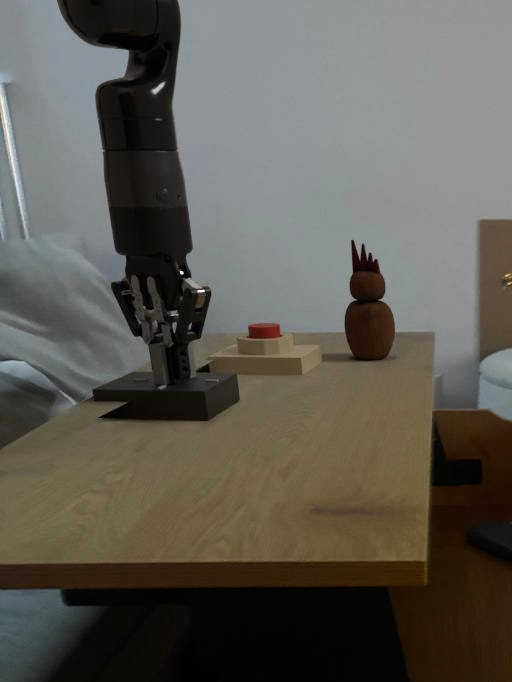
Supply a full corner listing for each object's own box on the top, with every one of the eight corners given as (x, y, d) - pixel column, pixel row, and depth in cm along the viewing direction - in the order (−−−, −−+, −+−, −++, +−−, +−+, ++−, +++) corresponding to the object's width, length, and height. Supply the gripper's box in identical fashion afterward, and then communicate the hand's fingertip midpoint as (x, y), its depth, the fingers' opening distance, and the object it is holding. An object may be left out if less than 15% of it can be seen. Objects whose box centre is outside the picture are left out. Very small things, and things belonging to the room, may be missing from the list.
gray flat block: (165, 385, 102) (159, 343, 100) (154, 384, 103) (148, 342, 101) (196, 376, 106) (191, 336, 105) (186, 375, 107) (181, 335, 105)
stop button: (245, 341, 125) (243, 327, 124) (254, 336, 129) (253, 322, 128) (275, 341, 125) (274, 327, 124) (284, 337, 128) (283, 323, 127)
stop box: (209, 374, 124) (205, 341, 123) (236, 360, 133) (232, 330, 132) (302, 375, 123) (299, 342, 121) (322, 361, 132) (320, 330, 130)
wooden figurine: (338, 358, 134) (330, 239, 128) (370, 352, 138) (364, 237, 132) (371, 364, 130) (365, 242, 124) (403, 358, 134) (399, 239, 128)
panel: (96, 418, 102) (91, 387, 101) (137, 398, 111) (132, 370, 110) (208, 420, 101) (204, 389, 100) (240, 400, 110) (237, 371, 109)
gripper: (224, 202, 96) (244, 382, 103) (135, 200, 103) (159, 369, 111) (161, 204, 90) (187, 395, 98) (72, 202, 98) (102, 380, 105)
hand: (172, 380), depth 104 cm, fingers closed on gray flat block, 2 cm apart
